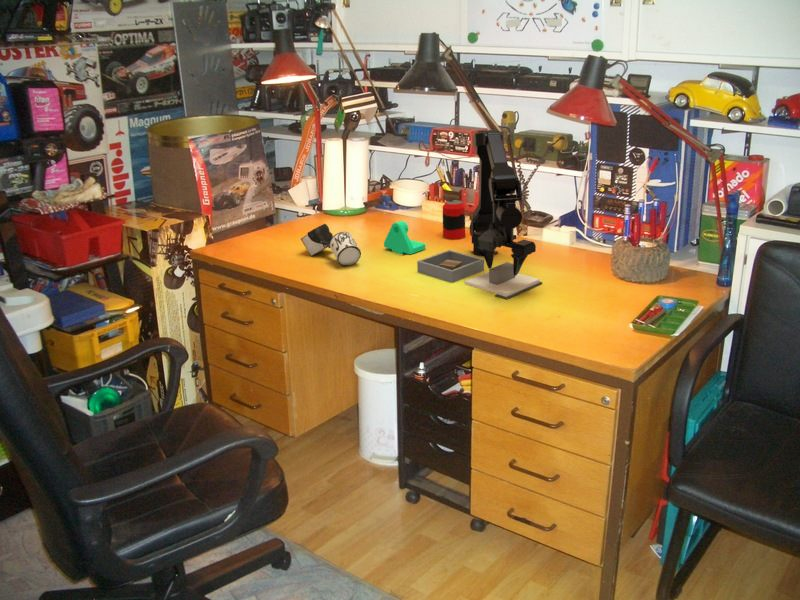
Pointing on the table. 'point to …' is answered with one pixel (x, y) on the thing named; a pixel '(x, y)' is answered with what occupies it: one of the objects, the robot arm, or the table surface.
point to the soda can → (453, 220)
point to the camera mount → (401, 240)
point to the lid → (502, 280)
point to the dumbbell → (333, 244)
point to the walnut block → (451, 264)
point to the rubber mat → (519, 291)
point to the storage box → (433, 269)
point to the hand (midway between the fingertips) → (502, 271)
